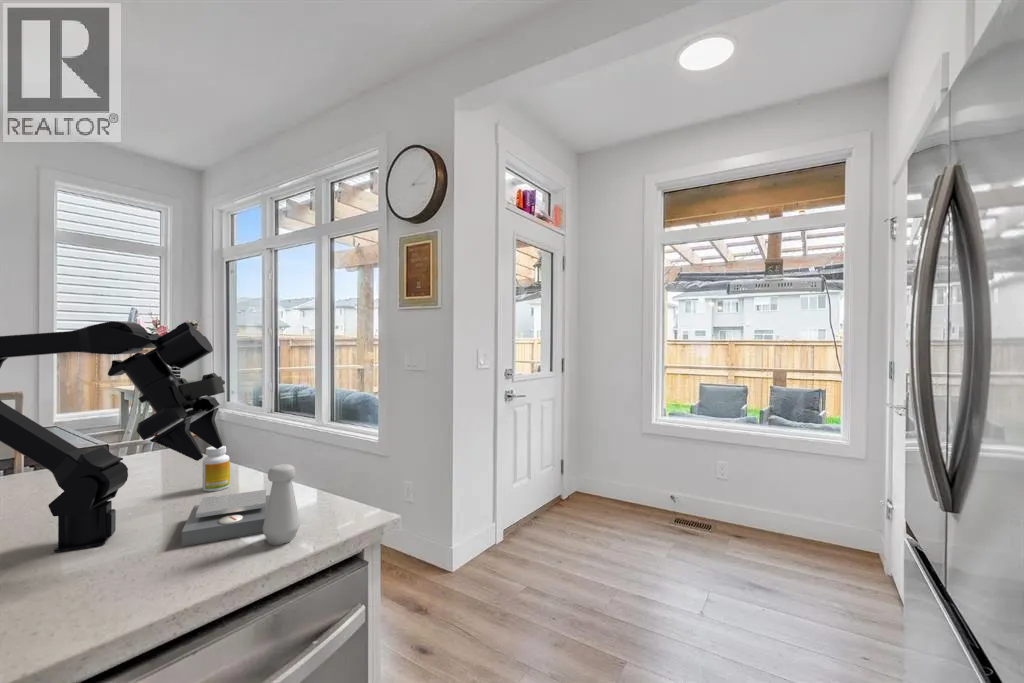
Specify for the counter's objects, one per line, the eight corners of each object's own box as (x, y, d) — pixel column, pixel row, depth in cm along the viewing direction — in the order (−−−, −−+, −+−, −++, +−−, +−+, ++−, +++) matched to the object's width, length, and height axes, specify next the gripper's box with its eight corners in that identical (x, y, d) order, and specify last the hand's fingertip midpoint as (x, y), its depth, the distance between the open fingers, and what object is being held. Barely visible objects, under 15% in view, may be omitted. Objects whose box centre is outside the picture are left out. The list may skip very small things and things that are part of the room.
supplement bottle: (234, 487, 109) (234, 446, 109) (209, 493, 104) (209, 451, 105) (222, 483, 112) (222, 443, 112) (198, 489, 107) (198, 448, 107)
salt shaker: (284, 548, 76) (284, 471, 76) (254, 545, 78) (254, 469, 78) (306, 534, 82) (306, 462, 82) (278, 531, 83) (278, 460, 83)
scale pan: (195, 517, 82) (195, 513, 82) (202, 502, 89) (202, 498, 89) (265, 507, 87) (265, 503, 87) (266, 493, 95) (266, 489, 95)
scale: (181, 546, 77) (181, 529, 77) (193, 518, 90) (193, 503, 90) (274, 530, 84) (274, 514, 84) (274, 506, 96) (274, 492, 96)
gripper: (176, 360, 75) (234, 437, 77) (219, 357, 93) (265, 419, 95) (108, 398, 72) (170, 477, 74) (166, 388, 90) (214, 451, 92)
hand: (210, 453), depth 84 cm, fingers open, 9 cm apart
